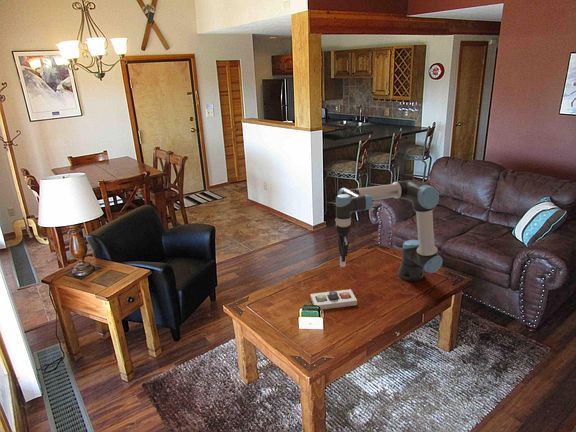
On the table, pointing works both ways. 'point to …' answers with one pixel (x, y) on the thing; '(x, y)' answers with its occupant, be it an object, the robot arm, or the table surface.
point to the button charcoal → (333, 295)
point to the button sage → (321, 298)
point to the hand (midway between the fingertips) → (342, 266)
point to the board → (334, 303)
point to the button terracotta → (345, 295)
